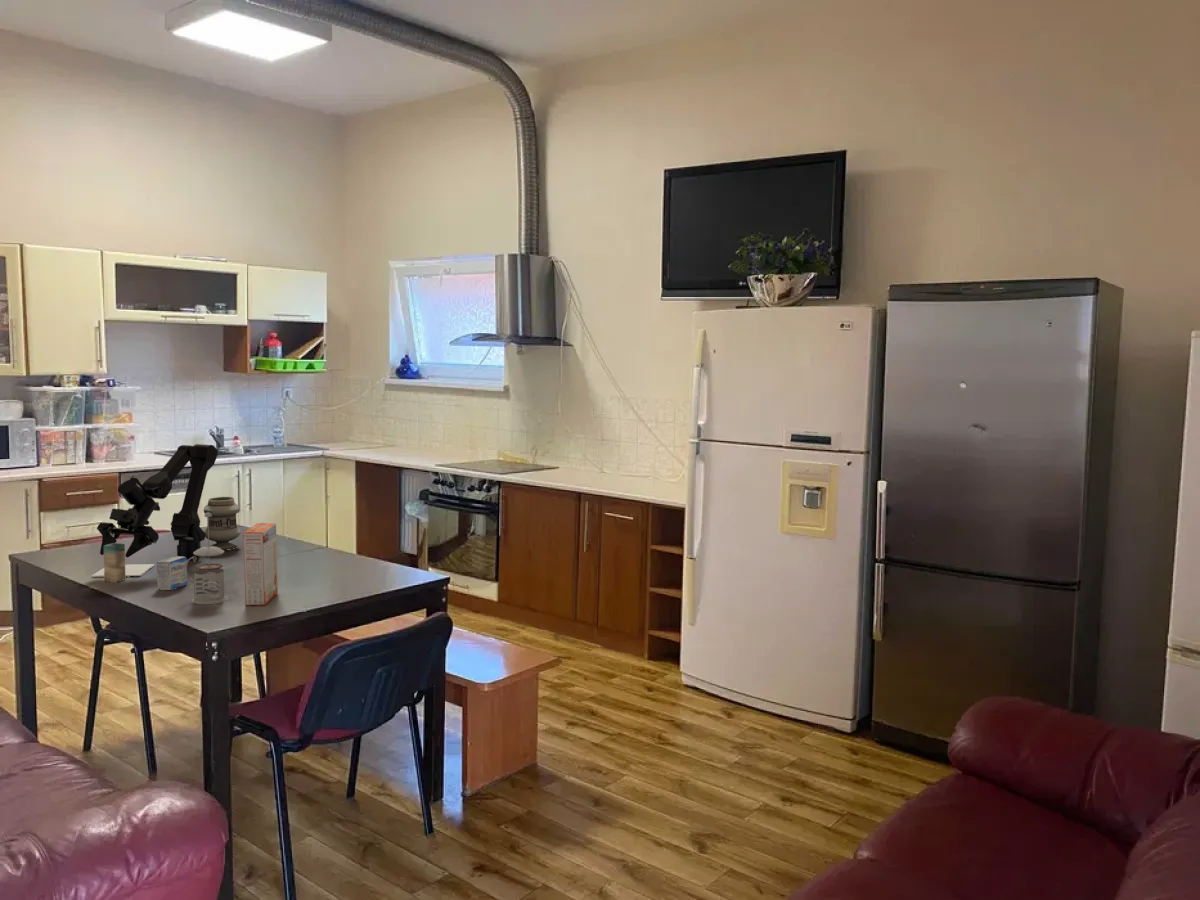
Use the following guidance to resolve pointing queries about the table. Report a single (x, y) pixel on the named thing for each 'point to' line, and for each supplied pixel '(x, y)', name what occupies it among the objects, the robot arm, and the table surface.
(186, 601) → the table surface
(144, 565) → the cream square tile
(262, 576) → the cracker box
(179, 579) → the medicine box
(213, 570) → the french press
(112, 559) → the birch block
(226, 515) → the apothecary jar
